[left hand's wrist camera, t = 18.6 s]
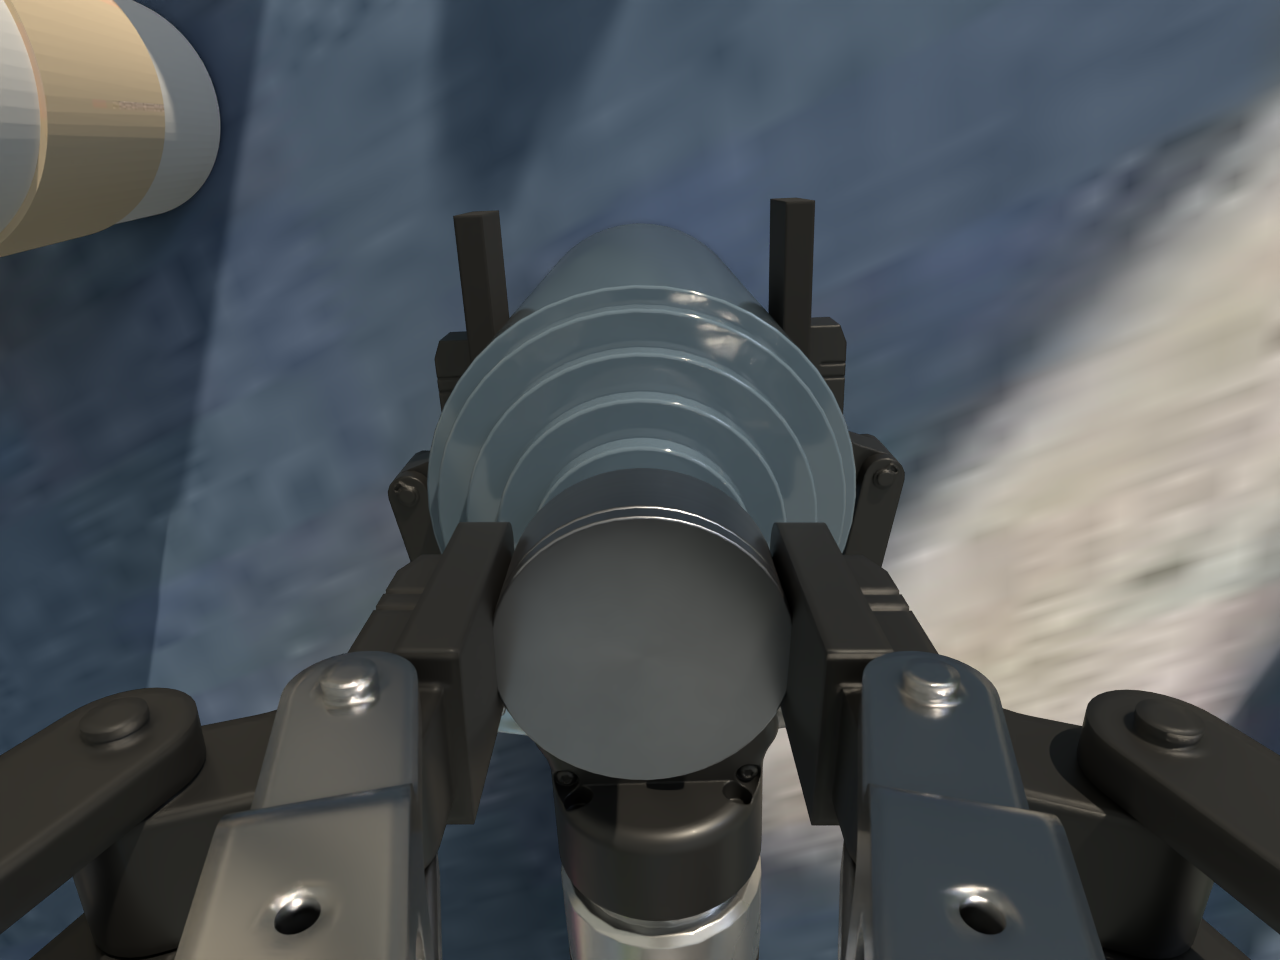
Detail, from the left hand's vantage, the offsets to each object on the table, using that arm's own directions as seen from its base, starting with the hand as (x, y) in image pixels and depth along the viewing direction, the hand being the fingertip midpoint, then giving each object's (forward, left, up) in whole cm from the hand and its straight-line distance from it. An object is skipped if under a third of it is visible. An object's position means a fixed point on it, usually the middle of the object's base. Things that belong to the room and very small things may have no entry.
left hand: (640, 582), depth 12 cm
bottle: (0, 0, -19) cm, 19 cm away
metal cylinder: (0, 0, +1) cm, 1 cm away
